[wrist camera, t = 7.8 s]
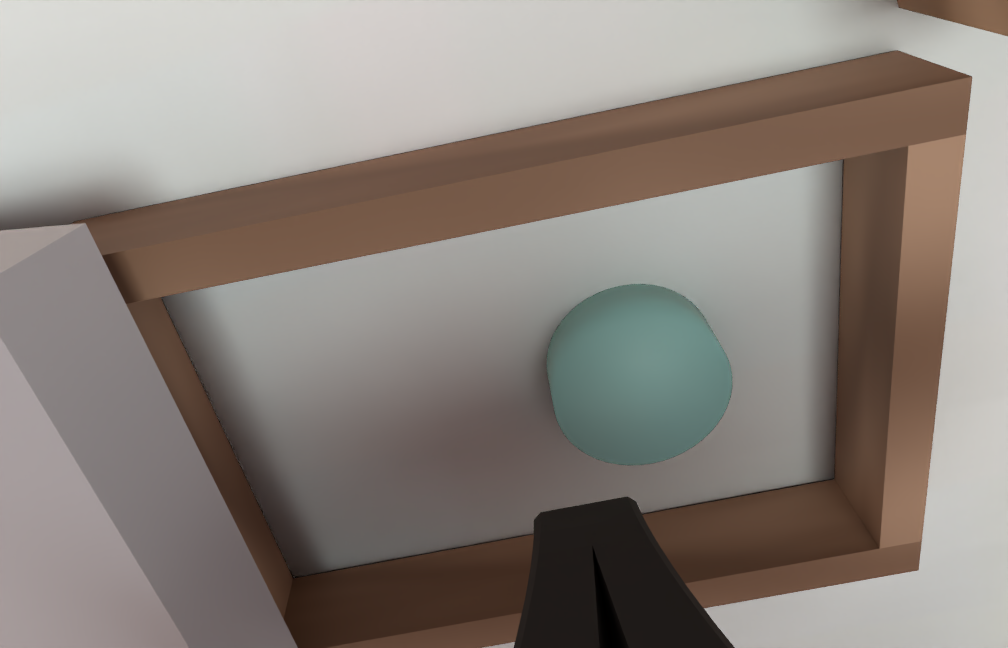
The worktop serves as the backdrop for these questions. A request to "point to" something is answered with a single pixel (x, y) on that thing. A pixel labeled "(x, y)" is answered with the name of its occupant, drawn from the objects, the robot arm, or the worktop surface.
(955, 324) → the worktop surface
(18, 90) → the worktop surface
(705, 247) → the worktop surface
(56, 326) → the lid
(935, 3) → the beech block
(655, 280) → the worktop surface
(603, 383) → the teal disc
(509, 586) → the frame
